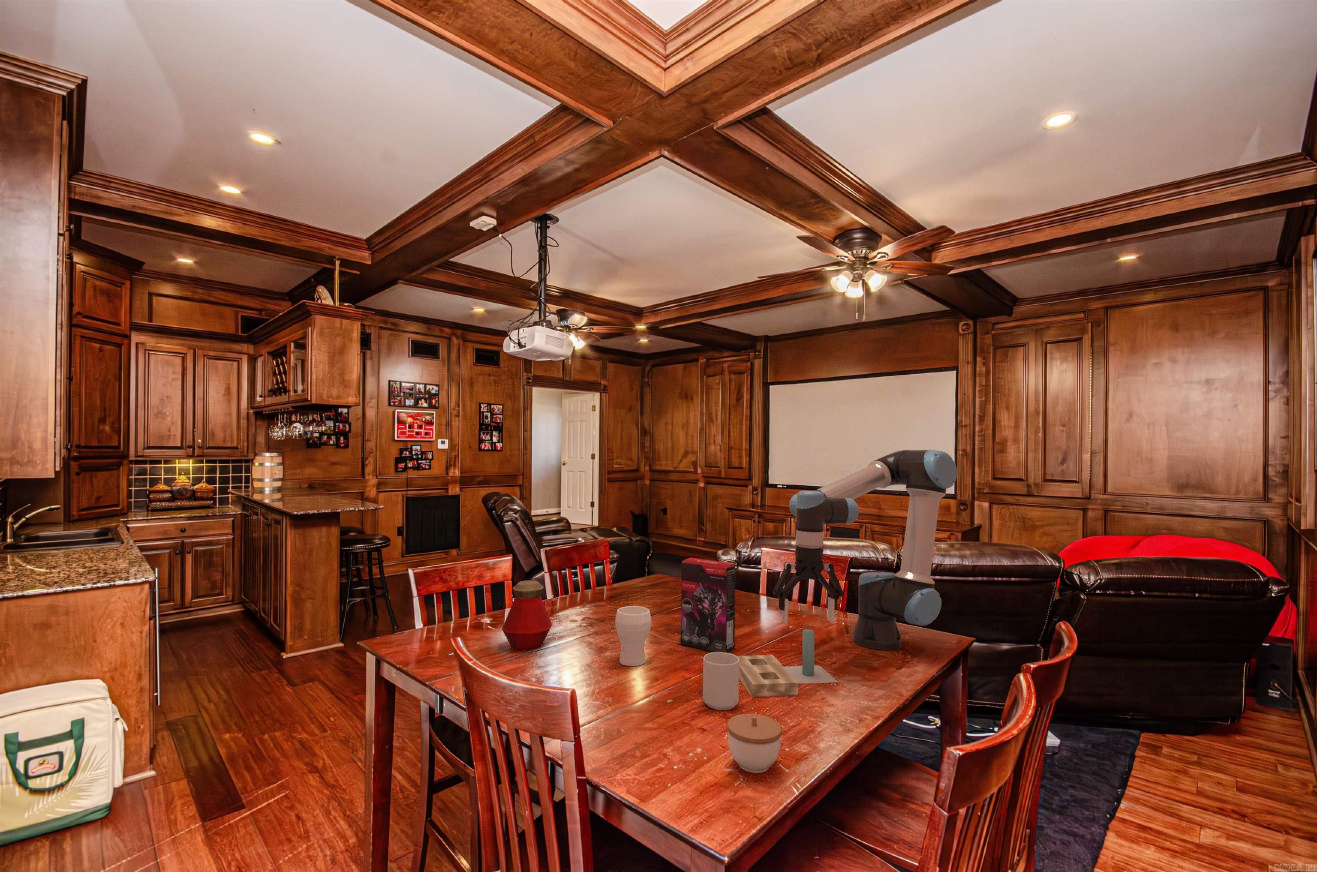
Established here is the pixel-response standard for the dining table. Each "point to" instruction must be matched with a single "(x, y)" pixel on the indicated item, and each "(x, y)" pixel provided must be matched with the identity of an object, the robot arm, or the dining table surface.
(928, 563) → the robot arm
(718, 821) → the dining table surface
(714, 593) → the graphics card box
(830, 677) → the mat
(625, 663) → the cup
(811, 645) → the peg
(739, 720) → the lidded jar
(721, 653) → the mug
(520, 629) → the bottle
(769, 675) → the hole block
